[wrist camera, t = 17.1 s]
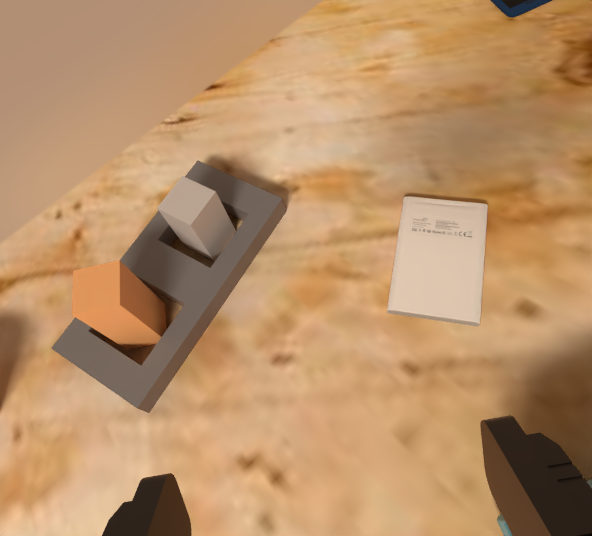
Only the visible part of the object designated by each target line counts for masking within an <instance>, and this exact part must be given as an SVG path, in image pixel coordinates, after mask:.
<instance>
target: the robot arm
mask: <svg viewBox="0 0 592 536" xmlns="http://www.w3.org/2000/svg"><path fill="white" fill-rule="evenodd" d="M481 436H482V445H483V455H484V465H485V472H486V477H487V481H488V484H489V487H490V490H491V493H492V495H493V497H494V499H495V501H496V503H497V505H498V507H499V509H500V511H501V513H502V515H503V517H504V519H505V521H506V523H507V525H508V528H509V530H510V532H511V534H512V536H592V488H591V487H590V485H589V484H588V483H587V481H586V480H585V479H583V477H582V475H581V474H580V472H579V471H578V470H577V468H576V467H575V466H574V465H572V462H571V460H570V459H569V458H568V456H567V455H566V454H565V452H564V451H563V450H562V448H561V447H560V446H559V445H558V444H556V443H555V442H553V441H552V440H550V439H549V438H547V437H546V436H544V435H543V434H541V433H536V434H530V435H526V434H525V433H524V431H523V430H522V428H521V427H520V425H519V424H518V423H517V421H516V420H515V418H514V417H513V416H505V417H499V418H494V419H488V420H482V421H481ZM102 536H191V523H190V518H189V515H188V512H187V509H186V507H185V504H184V501H183V498H182V495H181V493H180V490H179V487H178V484H177V481H176V479H175V477H174V475H173V474H171V473H170V474H164V475H158V476H152V477H146V478H143V479H142V480H141V481H140V483H139V486H138V488H137V491H136V493H135V496H134V498H133V501H130V502H124V503H123V504H122V505H121V506H120V508H119V509H118V510H117V511H116V512H115V513H114V515H113V516H112V517H111V518H110V519H109V521H108V523H107V526H106V528H105V530H104V532H103V535H102Z"/></svg>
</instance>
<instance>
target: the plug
mask: <svg viewBox="0 0 592 536" xmlns="http://www.w3.org/2000/svg"><path fill="white" fill-rule="evenodd" d="M72 315H73V316H74V317H76V318H77V319H79V320H81V321H82V322H84V323H85V324H87V325H89V326H90V327H92V328H93V329H95V330H97V331H98V332H100V333H102V334H103V335H105V336H106V337H108V338H110V339H111V340H113V341H114V342H116V343H118V344H119V345H121V346H122V347H124V348H126V349H127V350H129V349H134V348H139V347H144V346H149V345H153V344H157V343H158V341H159V340H160V339H161V337H162V336H163V334H164V333H165V331H166V330H167V328H166V308H165V303H164V302H163V301H162V300H161V299H160V298H158V297H157V296H156V295H155V294H154V293H153V292H152V291H151V290H150V289H149V288H148V287H147V286H146V285H145V284H144V283H143V282H142V281H141V280H140V279H139V278H138V277H136V276H135V275H134V274H133V273H132V272H131V271H130V270H129V269H128V268H127V267H126V266H125V265H124V264H123V263H122V262H121V261H120V260H119V261H115V262H110V263H106V264H101V265H97V266H92V267H88V268H83V269H78V270H74V273H73V298H72Z"/></svg>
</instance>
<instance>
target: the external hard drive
mask: <svg viewBox="0 0 592 536" xmlns="http://www.w3.org/2000/svg"><path fill="white" fill-rule="evenodd" d="M487 211H488V205H487V204H484V203H474V202H462V201H452V200H441V199H431V198H421V197H410V196H408V197H404V199H403V206H402V212H401V219H400V226H399V232H398V239H397V245H396V252H395V259H394V266H393V272H392V279H391V286H390V293H389V300H388V307H387V313H390V314H397V315H404V316H410V317H417V318H424V319H431V320H438V321H444V322H451V323H458V324H464V325H471V326H479V325H480V318H481V303H482V288H483V273H484V257H485V242H486V226H487Z"/></svg>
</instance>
